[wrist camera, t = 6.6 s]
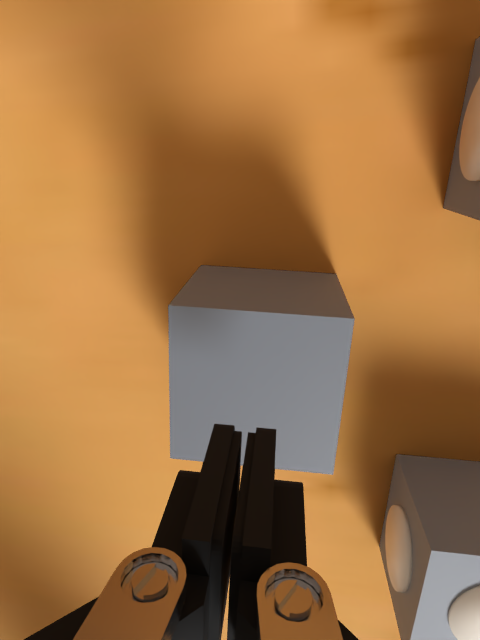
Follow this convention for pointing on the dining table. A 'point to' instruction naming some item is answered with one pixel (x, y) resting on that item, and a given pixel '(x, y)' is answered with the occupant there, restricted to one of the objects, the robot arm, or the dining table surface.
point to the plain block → (260, 362)
